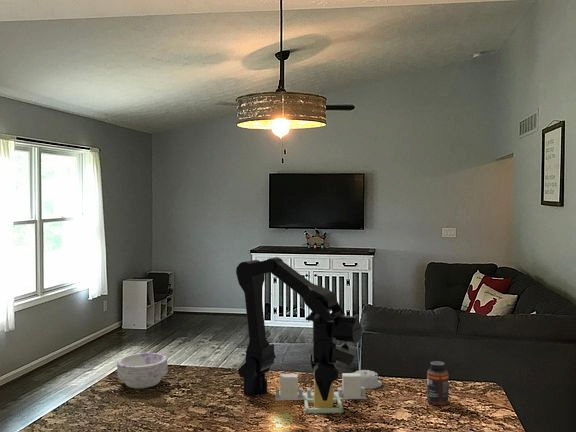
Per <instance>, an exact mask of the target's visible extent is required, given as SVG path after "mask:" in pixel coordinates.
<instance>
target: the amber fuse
mask: <svg viewBox="0 0 576 432" xmlns="http://www.w3.org/2000/svg"><path fill="white" fill-rule="evenodd" d="M333 389H334V381H333V382H332V383H331V387H330V391H329V395H328V399H327V401H323V399H322V397H321V394H320V391H319V389H318V386H317V384H316V381H315V378H314V377H313V392H314V403H313V408H334V403H333Z"/></svg>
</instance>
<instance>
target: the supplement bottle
mask: <svg viewBox="0 0 576 432" xmlns="http://www.w3.org/2000/svg"><path fill="white" fill-rule="evenodd" d="M429 367H430V368H429V369H427V372H426V383H427V384H426V400H427V403H429V404H431V405H433V406H445V405H447V404H449V398H450V397H449V379H450V378H449V371H448V370H447V369H446V364H445V362H444V361H439V360H437V361H436V360H434V361H431V362H430V366H429Z"/></svg>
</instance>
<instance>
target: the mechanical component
mask: <svg viewBox="0 0 576 432" xmlns="http://www.w3.org/2000/svg"><path fill="white" fill-rule="evenodd" d="M353 373H359V374H360V375H361V387H364V388H365V390H371V389H377V388H380V387H381V386H382V385H383V382H382V381H380V380H379V377H378V376H379V374H378V373H377V372H375V371H374V370H373V371H372V370H369V369H367V370H366V369H361V370H360V369H359V370H356V371H355V372H353Z"/></svg>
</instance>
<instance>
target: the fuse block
mask: <svg viewBox="0 0 576 432" xmlns="http://www.w3.org/2000/svg"><path fill="white" fill-rule="evenodd" d="M333 398H340V400H367V399H368V398H367V395H366V389H365V388H364V387H361V397H343V395H342V386H337V391H335V390H334V388H333ZM304 399H314V391H312V389H311V387H306V392H304V391H303V387H298V398H280V387H276V388H275V392H274V401H304Z"/></svg>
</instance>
